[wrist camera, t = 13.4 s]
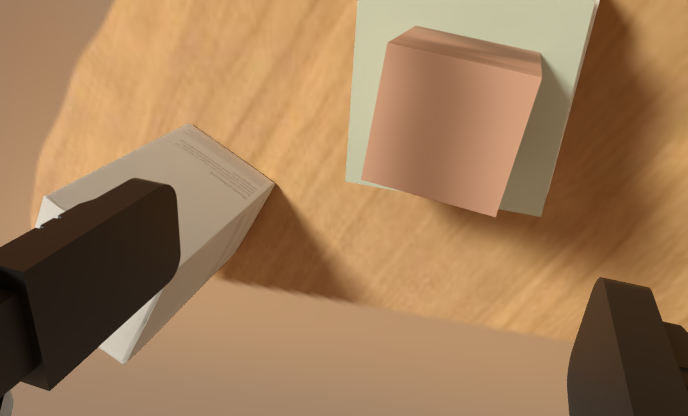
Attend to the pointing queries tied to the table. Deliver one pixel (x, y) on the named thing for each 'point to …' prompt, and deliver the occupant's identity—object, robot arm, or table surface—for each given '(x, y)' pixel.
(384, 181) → the terracotta cube
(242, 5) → the table surface
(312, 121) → the table surface
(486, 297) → the table surface
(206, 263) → the supplement box
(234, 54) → the table surface
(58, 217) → the robot arm
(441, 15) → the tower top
